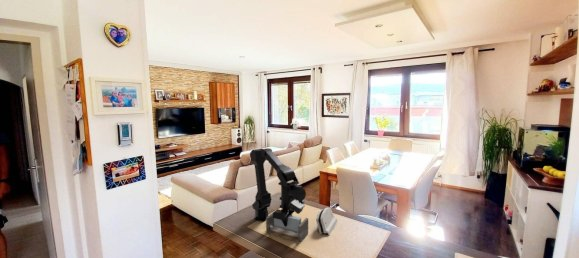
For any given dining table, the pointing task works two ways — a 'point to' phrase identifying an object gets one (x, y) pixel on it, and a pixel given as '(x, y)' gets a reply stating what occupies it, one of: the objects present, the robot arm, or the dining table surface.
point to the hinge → (326, 221)
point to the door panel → (289, 223)
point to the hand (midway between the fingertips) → (287, 225)
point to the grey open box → (286, 233)
